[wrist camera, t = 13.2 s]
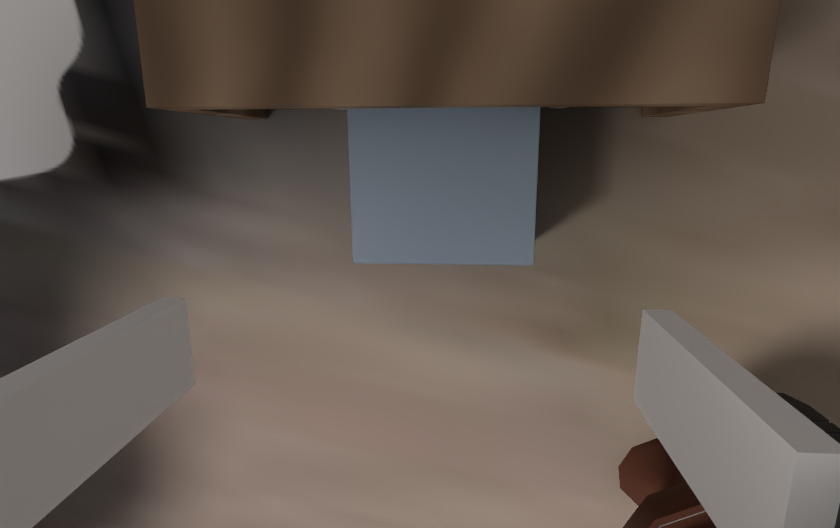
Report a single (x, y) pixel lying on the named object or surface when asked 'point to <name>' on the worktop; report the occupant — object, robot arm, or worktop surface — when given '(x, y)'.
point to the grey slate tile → (443, 185)
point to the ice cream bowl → (659, 491)
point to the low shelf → (454, 54)
